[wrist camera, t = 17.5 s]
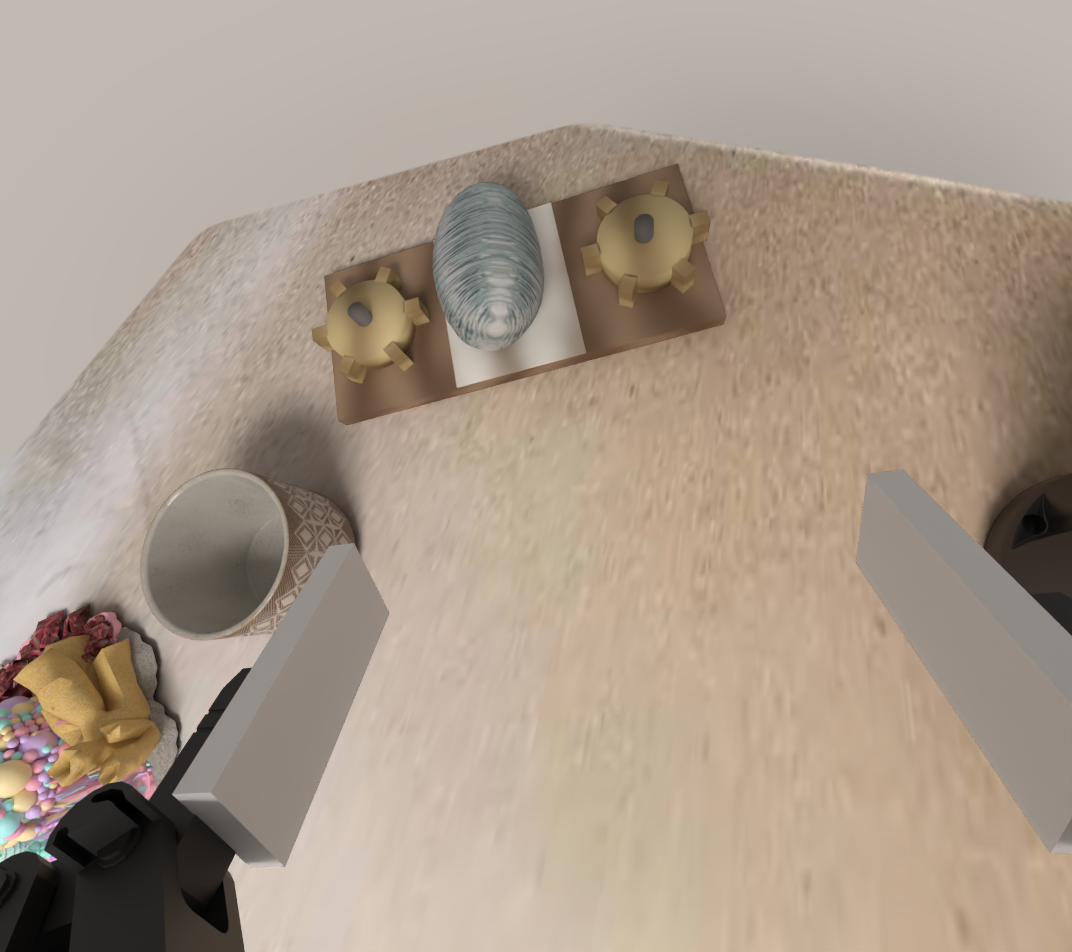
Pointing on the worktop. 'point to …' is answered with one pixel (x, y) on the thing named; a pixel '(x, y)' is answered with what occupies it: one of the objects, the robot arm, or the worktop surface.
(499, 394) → the worktop surface
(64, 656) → the candy landscape model
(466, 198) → the grey streaked egg
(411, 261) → the gear board
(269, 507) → the planter
